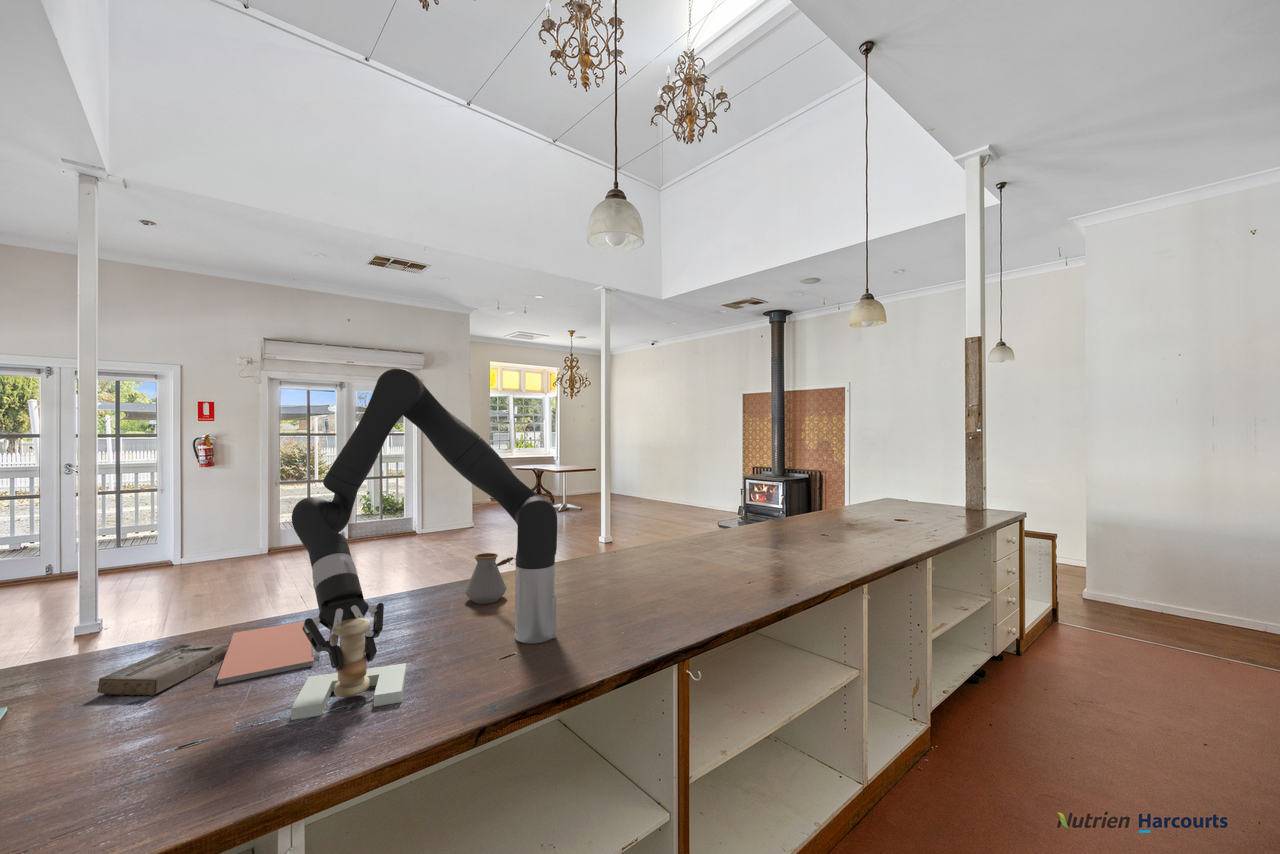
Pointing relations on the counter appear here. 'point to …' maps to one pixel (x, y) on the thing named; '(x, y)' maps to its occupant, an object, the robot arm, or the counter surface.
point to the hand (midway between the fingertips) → (356, 663)
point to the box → (161, 670)
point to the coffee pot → (487, 579)
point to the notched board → (322, 686)
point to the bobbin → (352, 657)
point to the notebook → (266, 652)
